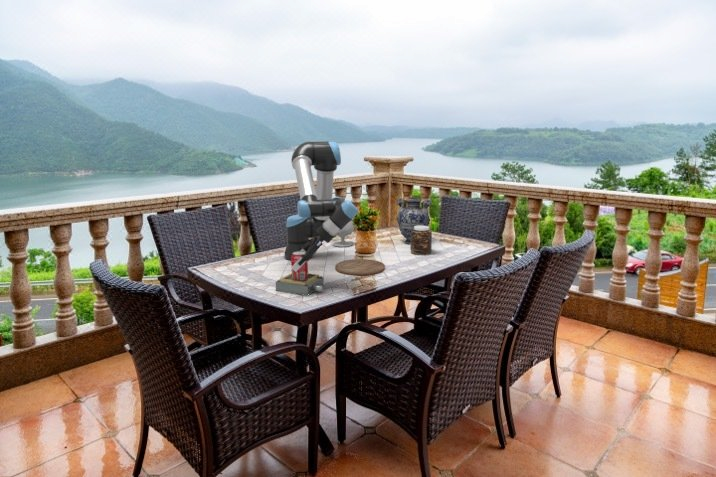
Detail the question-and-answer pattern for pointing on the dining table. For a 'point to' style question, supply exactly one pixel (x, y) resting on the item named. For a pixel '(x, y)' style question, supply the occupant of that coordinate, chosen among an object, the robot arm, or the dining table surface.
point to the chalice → (344, 233)
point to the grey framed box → (300, 284)
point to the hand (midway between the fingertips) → (294, 265)
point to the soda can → (303, 270)
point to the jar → (421, 240)
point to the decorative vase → (412, 215)
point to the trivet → (359, 267)
